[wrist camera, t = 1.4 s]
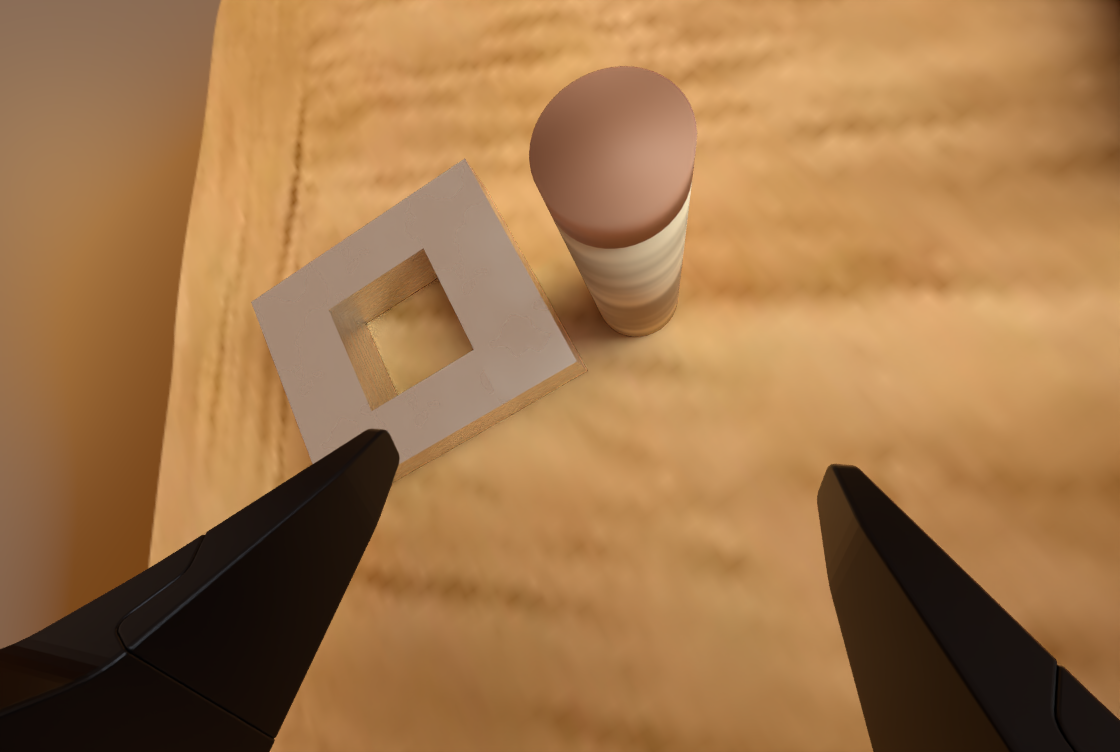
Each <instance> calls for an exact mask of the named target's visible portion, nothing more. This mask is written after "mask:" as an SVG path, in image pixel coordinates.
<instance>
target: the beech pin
mask: <svg viewBox="0 0 1120 752" xmlns="http://www.w3.org/2000/svg"><path fill="white" fill-rule="evenodd" d="M696 143H697V126H696V120H695V116H694V112H693V110H692V107H691V105H690V103H689V101H688V99H687V98H686V96H685V95H684V94H683V92H682V91H681V90H680V89H679V88H678V87H677V86H676V85H675V84H674V83H673V82H672V81H670V80H669V79H667V78H666V77H664V76H662V75H660V74H658V73H656V72H654V71H651V70H647V69H644V68H638V67H628V66H620V67H610V68H605V69H601V70H598V71H594V72H591V73H589V74H587V75H585V76H582V77H580V78H578V79H577V80H575V81H573V82H572V83H570V84H569V85H568V86H566V87H565V88H564V89H562V90H561V91H560V92H559V93H558V94H557V95H556V96H555V97H554V98H553V99H552V100H551V101H550V102H549V104H548V105H547V106H546V108H545V109H544V111H543V112H542V113H541V115H540V117H539V119H538V121H537V123H536V125H535V128H534V131H533V134H532V138H531V142H530V151H529V160H530V168H531V173H532V176H533V179H534V182H535V184H536V186H537V188H538V190H539V192H540V194H541V196H542V198H543V200H544V202H545V204H546V206H547V208H548V210H549V212H550V214H551V216H552V218H553V220H554V222H555V224H556V226H557V228H558V230H559V232H560V234H561V236H562V238H563V239H564V241H565V243H566V245H567V247H568V249H569V251H570V253H571V255H572V257H573V259H574V261H575V263H576V265H577V267H578V269H579V271H580V273H581V275H582V277H583V279H584V281H585V283H586V285H587V287H588V289H589V291H590V293H591V295H592V297H593V299H594V301H595V303H596V305H597V307H598V309H599V311H600V313H601V315H602V317H603V319H604V320H605V322H606V323H607V324H608V325H609V326H610V327H611V328H612V329H614V330H615V331H617V332H619V333H621V334H624V335H627V336H635V337H638V336H645V335H649V334H652V333H654V332H656V331H658V330H660V329H661V328H662V327H664V326H665V325H666V324H667V323H668V322H669V320H670V319H671V318H672V316H673V314H674V312H675V310H676V307H677V302H678V294H679V286H680V277H681V269H682V260H683V252H684V244H685V235H686V227H687V219H688V210H689V202H690V194H691V185H692V177H693V168H694V160H695V152H696Z"/></svg>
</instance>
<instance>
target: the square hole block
mask: <svg viewBox="0 0 1120 752" xmlns="http://www.w3.org/2000/svg"><path fill="white" fill-rule="evenodd" d="M437 278H439V280H440V283H441V285H442V287H443V289H444V291H445V293H446V295H447V297H448V299H449V301H450V303H451V305H452V307H453V309H454V311H455V313H456V315H457V317H458V319H459V321H460V323H461V325H462V327H463V329H464V331H465V333H466V335H467V337H468V339H469V341H470V343H471V345H472V347H473V349H474V350H472V351H471V352H469V353H467V354H466V355H464V356H462V357H461V358H459V359H457V360H456V361H454V362H452V363H451V364H449V365H447V366H446V367H444V368H442V369H441V370H439V371H438V372H436V373H434V374H433V375H431V376H429V377H428V378H426V379H424V380H423V381H421V382H419V383H418V384H416V385H414V386H413V387H411V388H409V389H408V390H406V391H404V392H403V393H401V394H399V395H398V396H397V394H396V391H395V389H394V387H393V384H392V382H391V380H390V378H389V375H388V373H387V371H386V369H385V366H384V364H383V362H382V360H381V357H380V355H379V353H378V350H377V348H376V346H375V344H374V341H373V339H372V337H371V335H370V332H369V330H368V328H367V326H366V323H368V322H369V321H371V320H372V319H374V318H375V317H377V316H379V315H380V314H382V313H383V312H385V311H386V310H388V309H390V308H391V307H393V306H394V305H396V304H397V303H399V302H401V301H402V300H404V299H405V298H407V297H408V296H410V295H412V294H413V293H415V292H416V291H418V290H419V289H421V288H423V287H424V286H426V285H427V284H429V283H430V282H432V281H434V280H435V279H437ZM251 303H252V305H253V308H254V311H255V313H256V316H257V319H258V321H259V324H260V326H261V329H262V332H263V334H264V337H265V340H266V342H267V345H268V348H269V350H270V353H271V355H272V358H273V361H274V363H275V366H276V369H277V371H278V374H279V377H280V379H281V382H282V384H283V387H284V390H285V392H286V395H287V398H288V400H289V403H290V406H291V408H292V411H293V413H294V416H295V419H296V421H297V424H298V427H299V429H300V432H301V434H302V437H303V440H304V442H305V445H306V448H307V450H308V453H309V456H310V458H311V461H312V463H313V464H314V463H315V462H317V461H318V460H320V459H322V458H323V457H325V456H326V455H328V454H329V453H331V452H332V451H334V450H336V449H337V448H339V447H340V446H342V445H343V444H345V443H347V442H348V441H350V440H351V439H353V438H354V437H356V436H357V435H359V434H361V433H362V432H364V431H365V430H367V429H371V428H372V429H384V430H387V431H388V432H389V434H390V436H391V438H392V440H393V442H394V444H395V446H396V448H397V450H398V452H399V457H400V460H399V465H398V468H397V471H396V474H395V477H394V479H393V482H395V481H396V480H398V479H400V478H402V477H403V476H405V475H407V474H408V473H410V472H412V471H414V470H415V469H417V468H419V467H421V466H422V465H424V464H426V463H428V462H429V461H431V460H433V459H435V458H436V457H438V456H440V455H442V454H443V453H445V452H447V451H449V450H450V449H452V448H454V447H456V446H457V445H459V444H461V443H463V442H464V441H466V440H468V439H470V438H471V437H473V436H475V435H477V434H478V433H480V432H482V431H483V430H485V429H487V428H489V427H490V426H492V425H494V424H496V423H497V422H499V421H501V420H503V419H504V418H506V417H508V416H510V415H511V414H513V413H515V412H517V411H518V410H520V409H522V408H524V407H525V406H527V405H529V404H531V403H532V402H534V401H536V400H538V399H539V398H541V397H543V396H545V395H546V394H548V393H550V392H552V391H553V390H555V389H557V388H559V387H560V386H562V385H564V384H565V383H567V382H569V381H571V380H572V379H574V378H576V377H578V376H579V375H581V374H583V373H585V372H586V371H588V370H587V368H586V367H585V365H584V363H583V361H582V359H581V358H580V356H579V354H578V352H577V350H576V349H575V347H574V345H573V343H572V341H571V340H570V338H569V336H568V334H567V332H566V331H565V329H564V327H563V325H562V323H561V322H560V320H559V318H558V316H557V314H556V313H555V311H554V309H553V307H552V305H551V304H550V302H549V300H548V298H547V296H546V295H545V293H544V291H543V289H542V287H541V286H540V284H539V282H538V280H537V278H536V277H535V275H534V273H533V271H532V269H531V268H530V266H529V264H528V262H527V260H526V259H525V257H524V255H523V253H522V251H521V250H520V248H519V246H518V244H517V242H516V241H515V239H514V237H513V235H512V233H511V232H510V230H509V228H508V226H507V224H506V223H505V221H504V219H503V217H502V215H501V214H500V212H499V210H498V208H497V206H496V205H495V203H494V201H493V199H492V197H491V196H490V194H489V192H488V190H487V189H486V187H485V186H484V185H483V183H482V182H481V180H480V179H479V178H478V176H477V175H476V173H475V172H474V171H473V169H472V168H471V166H470V165H469V164H468V162H467V161H466V159H463V160H462V161H460V162H459V163H457V164H456V165H454V166H453V167H451V168H450V169H448V170H447V171H445V172H444V173H442V174H441V175H440V176H438V177H437V178H435V179H434V180H432V181H431V182H429V183H428V184H426V185H425V186H423V187H422V188H420V189H419V190H417V191H416V192H414V193H413V194H411V195H410V196H408V197H407V198H405V199H404V200H402V201H401V202H399V203H398V204H396V205H395V206H393V207H392V208H390V209H389V210H387V211H386V212H384V213H383V214H382V215H380V216H379V217H377V218H376V219H374V220H373V221H371V222H370V223H368V224H367V225H365V226H364V227H362V228H361V229H359V230H358V231H356V232H355V233H353V234H352V235H350V236H349V237H347V238H346V239H344V240H343V241H341V242H340V243H338V244H337V245H335V246H334V247H332V248H331V249H329V250H328V251H326V252H325V253H323V254H322V255H321V256H319V257H318V258H316V259H315V260H313V261H312V262H310V263H309V264H307V265H306V266H304V267H303V268H301V269H300V270H298V271H297V272H295V273H294V274H292V275H291V276H289V277H288V278H286V279H285V280H283V281H282V282H280V283H279V284H277V285H276V286H274V287H273V288H271V289H270V290H268V291H267V292H265V293H264V294H263V295H261V296H260V297H258V298H257V299H255V300H254V301H252V302H251ZM393 482H392V483H393Z"/></svg>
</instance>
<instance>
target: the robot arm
mask: <svg viewBox="0 0 1120 752" xmlns="http://www.w3.org/2000/svg"><path fill="white" fill-rule="evenodd" d="M399 460H400V457H399V452H398V450H397V448H396V446H395V444H394V442H393V440H392V438H391V436H390V434H389V432H388V431H387V430H384V429H372V428H371V429H367V430H365V431H364V432H362V433H361V434H359V435H357V436H356V437H354V438H353V439H351V440H350V441H348V442H347V443H345V444H343V445H342V446H340V447H339V448H337V449H336V450H334V451H332V452H331V453H329V454H328V455H326V456H325V457H323V458H322V459H320V460H318V461H317V462H315V463H314V464H312V465H311V466H309V467H308V468H306V469H304V470H303V471H301V472H300V473H298V474H297V475H295V476H293V477H292V478H290V479H289V480H287V481H286V482H284V483H283V484H281V485H279V486H278V487H276V488H275V489H273V490H272V491H270V492H268V493H267V494H265V495H264V496H262V497H261V498H259V499H258V500H256V501H254V502H253V503H251V504H250V505H248V506H247V507H245V508H243V509H242V510H240V511H239V512H237V513H236V514H234V515H233V516H231V517H229V518H228V519H226V520H225V521H223V522H222V523H220V524H219V525H217V526H215V527H214V528H212V529H211V530H209V531H208V532H207V533H206V534H205V535H201V536H200V537H198V538H197V539H195V540H193V541H192V542H190V543H189V544H187V545H186V546H184V547H183V548H181V549H179V550H178V551H176V552H174V553H173V554H171V555H170V556H168V557H166V558H165V559H163V560H162V561H160V562H158V563H157V564H155V565H154V566H152V567H150V568H149V569H147V570H145V571H143V572H142V573H140V574H138V575H137V576H135V577H133V578H132V579H130V580H128V581H126V582H125V583H123V584H121V585H120V586H118V587H116V588H114V589H112V590H111V591H109V592H107V593H105V594H104V595H102V596H100V597H98V598H97V599H95V600H93V601H92V602H90V603H88V604H86V605H84V606H83V607H81V608H79V609H78V610H76V611H74V612H72V613H71V614H69V615H67V616H65V617H64V618H62V619H60V620H58V621H57V622H55V623H53V624H51V625H50V626H48V627H46V628H44V629H43V630H41V631H39V632H37V633H35V634H33V635H32V636H30V637H28V638H25V639H23V640H21V641H19V642H17V643H15V644H12V645H10V646H7V647H5V648H2V649H0V752H270V749H271V747H272V745H273V743H274V741H275V739H274V738H276V736H277V734H278V732H279V730H280V728H281V726H282V724H283V722H284V719H285V717H286V715H287V713H288V711H289V709H290V707H291V705H292V703H293V701H294V698H295V696H296V694H297V692H298V690H299V688H300V686H301V684H302V682H303V680H304V677H305V675H306V673H307V671H308V669H309V667H310V665H311V663H312V661H313V659H314V656H315V654H316V652H317V650H318V648H319V646H320V644H321V642H322V640H323V638H324V635H325V633H326V631H327V629H328V627H329V625H330V623H331V621H332V619H333V617H334V614H335V612H336V610H337V608H338V606H339V604H340V602H341V600H342V598H343V596H344V593H345V591H346V589H347V587H348V585H349V583H350V581H351V579H352V577H353V575H354V572H355V570H356V568H357V566H358V564H359V562H360V560H361V558H362V556H363V554H364V551H365V549H366V547H367V545H368V543H369V541H370V539H371V537H372V535H373V532H374V530H375V528H376V526H377V523H378V521H379V518H380V516H381V513H382V510H383V507H384V504H385V502H386V499H387V496H388V493H389V490H390V488H391V485H392V482H393V479H394V477H395V474H396V471H397V468H398V465H399ZM817 504H818V512H819V519H820V526H821V533H822V540H823V547H824V554H825V561H826V568H827V574H828V581H829V586H830V590H831V594H832V599H833V602H834V606H835V610H836V614H837V617H838V621H839V625H840V628H841V632H842V636H843V640H844V643H845V647H846V651H847V655H848V658H849V662H850V666H851V670H852V673H853V677H854V681H855V684H856V688H857V692H858V696H859V699H860V703H861V707H862V711H863V714H864V718H865V722H866V726H867V729H868V733H869V737H870V740H871V744H872V748H873V752H1120V720H1119V719H1118V718H1117V717H1116V716H1115V715H1114V714H1113V713H1111V712H1110V711H1109V710H1108V709H1107V708H1106V707H1105V706H1104V705H1103V704H1102V703H1101V702H1100V701H1099V700H1098V699H1097V698H1096V697H1094V696H1093V695H1092V694H1091V693H1090V692H1089V691H1088V690H1087V689H1086V688H1085V687H1084V686H1083V685H1082V684H1081V683H1080V682H1079V681H1078V680H1077V679H1076V678H1075V677H1074V676H1073V675H1072V674H1071V673H1070V672H1069V671H1068V670H1067V669H1066V668H1064V667H1063V666H1061V665H1057V661H1056V659H1055V658H1054V657H1053V656H1052V655H1051V654H1050V653H1049V652H1048V651H1047V650H1046V649H1045V648H1044V647H1043V646H1042V645H1041V644H1039V643H1038V642H1037V641H1036V640H1035V639H1034V638H1033V637H1032V636H1031V635H1030V634H1029V633H1028V632H1027V631H1026V630H1025V629H1024V628H1023V627H1022V626H1021V625H1020V624H1019V623H1018V622H1017V621H1016V620H1015V619H1014V618H1013V617H1012V616H1011V615H1010V614H1009V613H1008V612H1007V611H1005V610H1004V609H1003V608H1002V607H1001V606H1000V605H999V604H998V603H997V602H996V601H995V600H994V599H993V598H992V597H991V596H990V595H989V594H988V593H987V592H986V591H985V590H984V589H983V588H982V587H981V586H980V585H979V584H978V583H977V582H976V581H975V580H974V579H973V578H971V577H970V576H969V575H968V574H967V573H966V572H965V571H964V570H963V569H962V568H961V567H960V566H959V565H958V564H957V563H956V562H955V561H954V560H953V559H952V558H951V557H950V556H949V555H948V554H947V553H946V552H945V551H944V550H943V549H942V548H941V547H940V546H938V545H937V544H936V543H935V542H934V541H933V540H932V539H931V538H930V537H929V536H928V535H927V534H926V533H925V532H924V531H923V530H922V529H921V528H920V527H919V526H918V525H917V524H916V523H915V522H914V521H913V520H912V519H911V518H910V517H909V516H908V515H907V514H906V513H904V512H903V511H902V510H901V509H900V508H899V507H898V506H897V505H896V504H895V503H894V502H893V501H892V500H891V499H890V498H889V497H888V496H887V495H886V494H885V493H884V492H883V491H882V490H881V489H880V488H879V487H878V486H877V485H876V484H875V483H874V482H873V481H872V480H870V479H869V478H868V477H867V476H866V475H865V474H864V473H863V472H862V471H861V470H860V469H859V468H857V467H856V466H853V465H841V464H831V465H830V466H829V467H828V468H827V470H826V473H825V475H824V478H823V481H822V483H821V486H820V488H819V491H818V496H817Z"/></svg>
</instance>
